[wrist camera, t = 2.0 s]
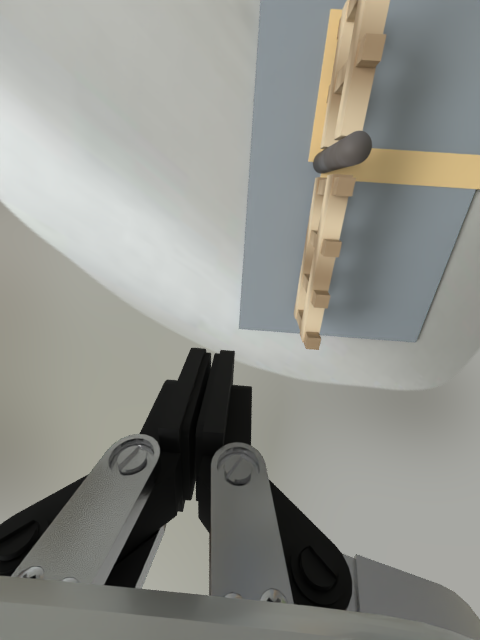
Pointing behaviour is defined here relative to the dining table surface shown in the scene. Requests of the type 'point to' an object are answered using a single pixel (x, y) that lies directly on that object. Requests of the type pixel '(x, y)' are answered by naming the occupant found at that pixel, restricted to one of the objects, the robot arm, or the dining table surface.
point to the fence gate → (321, 253)
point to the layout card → (363, 165)
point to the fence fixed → (352, 85)
